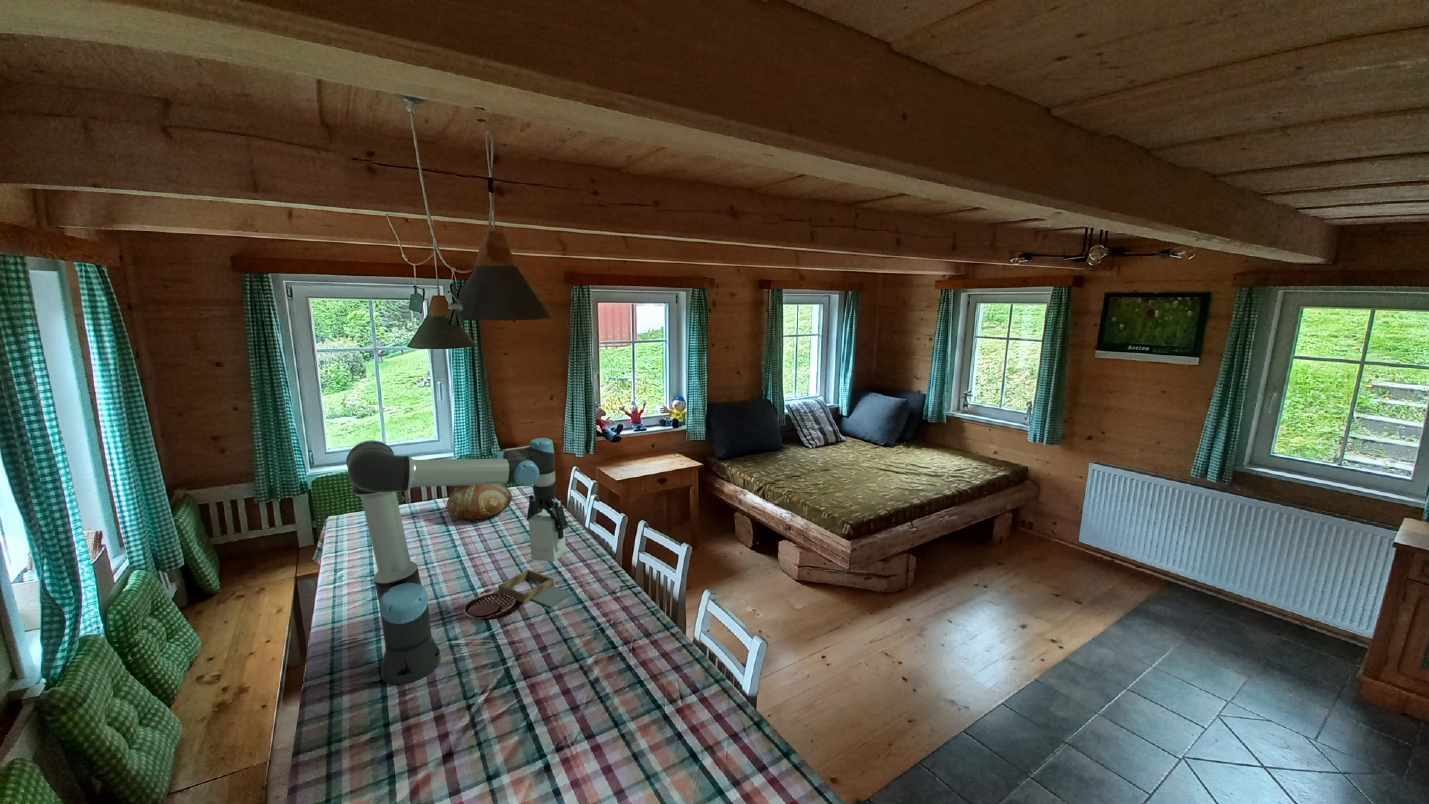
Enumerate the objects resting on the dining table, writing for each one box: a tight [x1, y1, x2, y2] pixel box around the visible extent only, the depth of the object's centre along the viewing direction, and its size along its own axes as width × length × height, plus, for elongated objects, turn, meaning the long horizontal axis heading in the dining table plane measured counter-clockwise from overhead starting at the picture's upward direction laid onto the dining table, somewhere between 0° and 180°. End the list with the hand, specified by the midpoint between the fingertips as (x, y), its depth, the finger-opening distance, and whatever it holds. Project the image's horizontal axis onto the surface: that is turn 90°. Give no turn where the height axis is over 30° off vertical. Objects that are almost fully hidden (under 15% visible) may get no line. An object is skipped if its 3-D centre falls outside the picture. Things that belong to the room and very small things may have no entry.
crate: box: [497, 569, 555, 604], centre depth 198 cm, size 14×14×3 cm
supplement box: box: [528, 509, 567, 563], centre depth 189 cm, size 9×9×15 cm
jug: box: [446, 484, 513, 522], centre depth 267 cm, size 30×30×25 cm
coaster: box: [530, 585, 573, 608], centre depth 193 cm, size 10×10×1 cm
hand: (548, 543), depth 189 cm, fingers closed on supplement box, 10 cm apart
